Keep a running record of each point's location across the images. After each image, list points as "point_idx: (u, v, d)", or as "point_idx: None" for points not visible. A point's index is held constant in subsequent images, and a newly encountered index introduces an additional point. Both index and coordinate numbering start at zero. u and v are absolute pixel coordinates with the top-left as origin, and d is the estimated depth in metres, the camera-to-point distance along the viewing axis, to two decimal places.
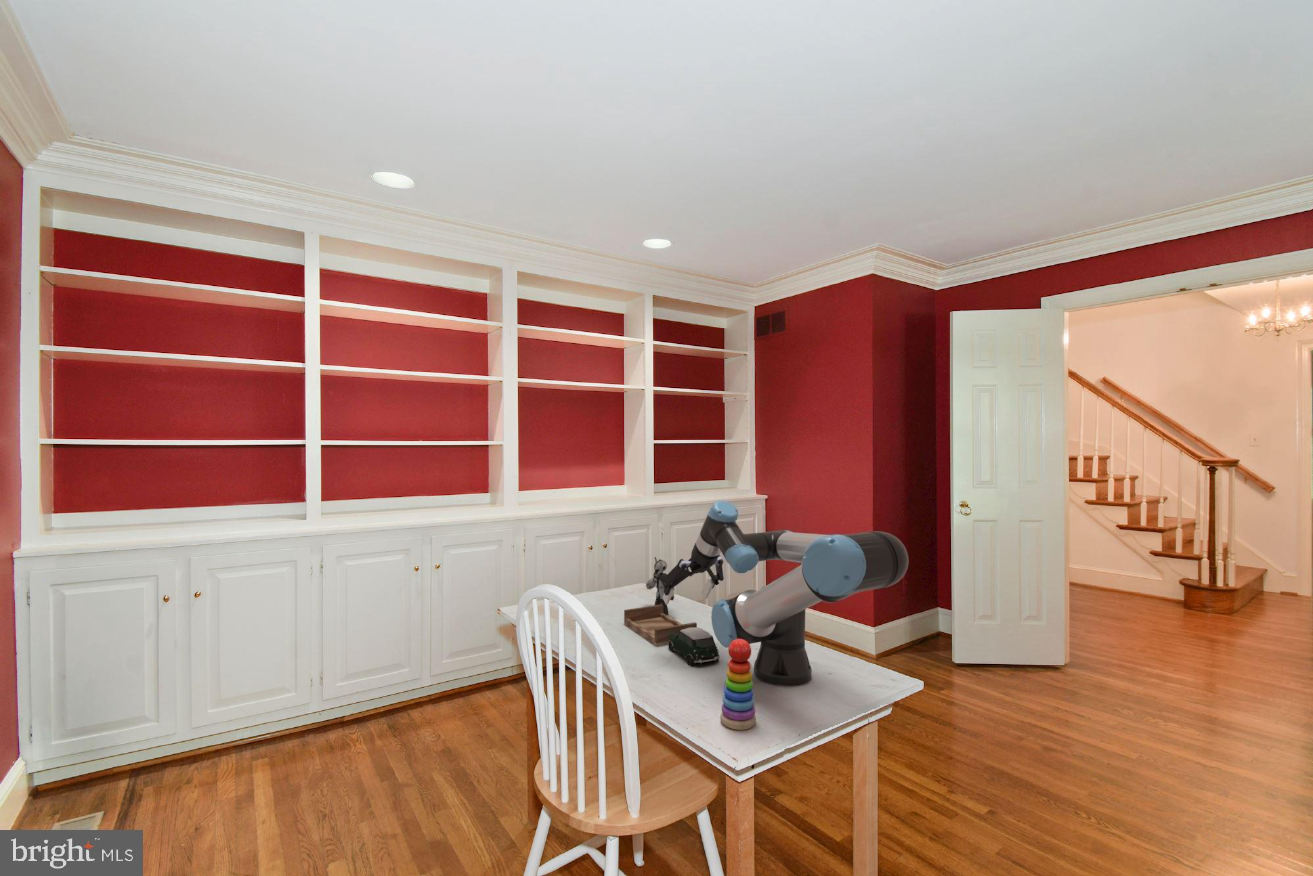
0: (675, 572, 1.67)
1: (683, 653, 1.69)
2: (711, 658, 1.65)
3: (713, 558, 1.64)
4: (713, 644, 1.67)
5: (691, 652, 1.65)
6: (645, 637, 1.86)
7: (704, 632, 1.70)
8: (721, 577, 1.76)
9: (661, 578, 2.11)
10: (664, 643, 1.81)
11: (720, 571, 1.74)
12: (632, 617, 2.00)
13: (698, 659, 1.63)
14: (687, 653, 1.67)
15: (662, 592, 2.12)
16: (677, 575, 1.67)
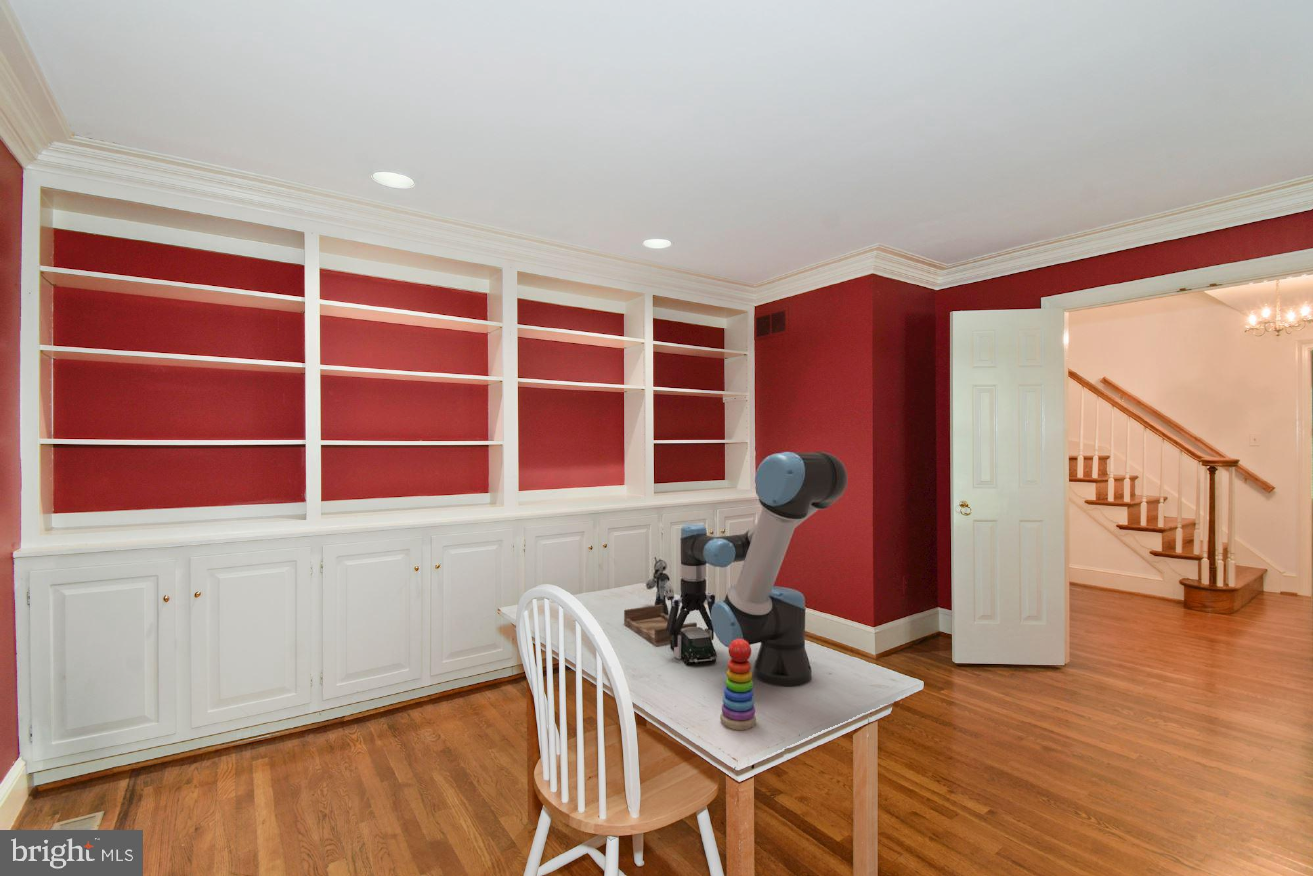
0: (672, 613, 1.69)
1: (681, 652, 1.70)
2: (707, 658, 1.65)
3: (700, 582, 1.69)
4: (710, 644, 1.66)
5: (687, 651, 1.65)
6: (645, 637, 1.86)
7: (702, 632, 1.70)
8: None
9: (661, 578, 2.11)
10: (664, 643, 1.81)
11: None
12: (632, 617, 2.00)
13: (693, 658, 1.64)
14: (684, 652, 1.67)
15: (662, 592, 2.12)
16: (675, 615, 1.68)
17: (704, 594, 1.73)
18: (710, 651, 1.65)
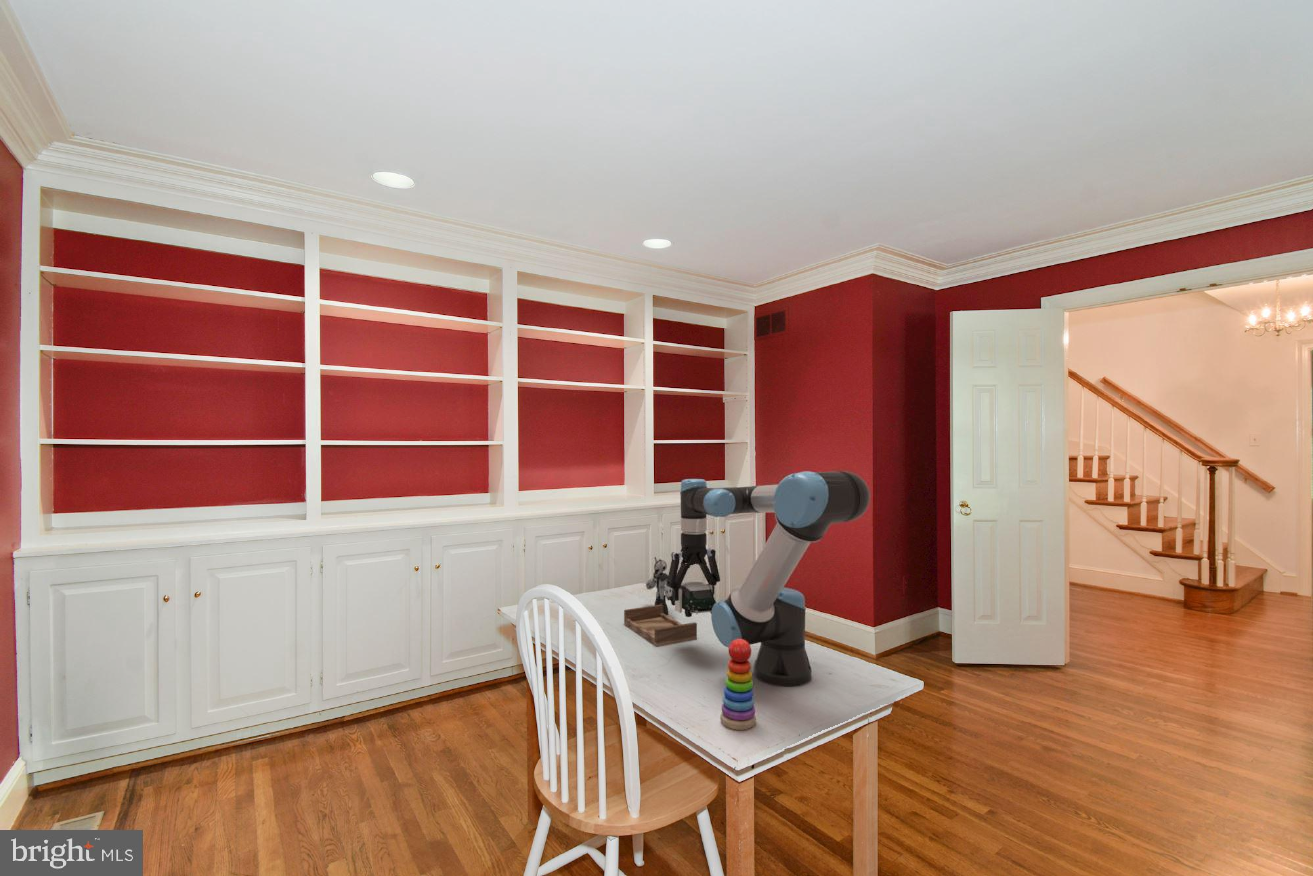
0: (673, 566, 1.68)
1: (682, 605, 1.69)
2: (708, 610, 1.64)
3: (700, 535, 1.69)
4: (711, 596, 1.66)
5: (688, 603, 1.65)
6: (645, 637, 1.86)
7: (703, 585, 1.69)
8: (717, 576, 1.74)
9: (661, 578, 2.11)
10: (664, 643, 1.81)
11: (715, 566, 1.74)
12: (632, 617, 2.00)
13: (694, 610, 1.63)
14: (685, 605, 1.67)
15: (662, 592, 2.12)
16: (675, 568, 1.68)
17: (704, 548, 1.72)
18: (711, 603, 1.65)
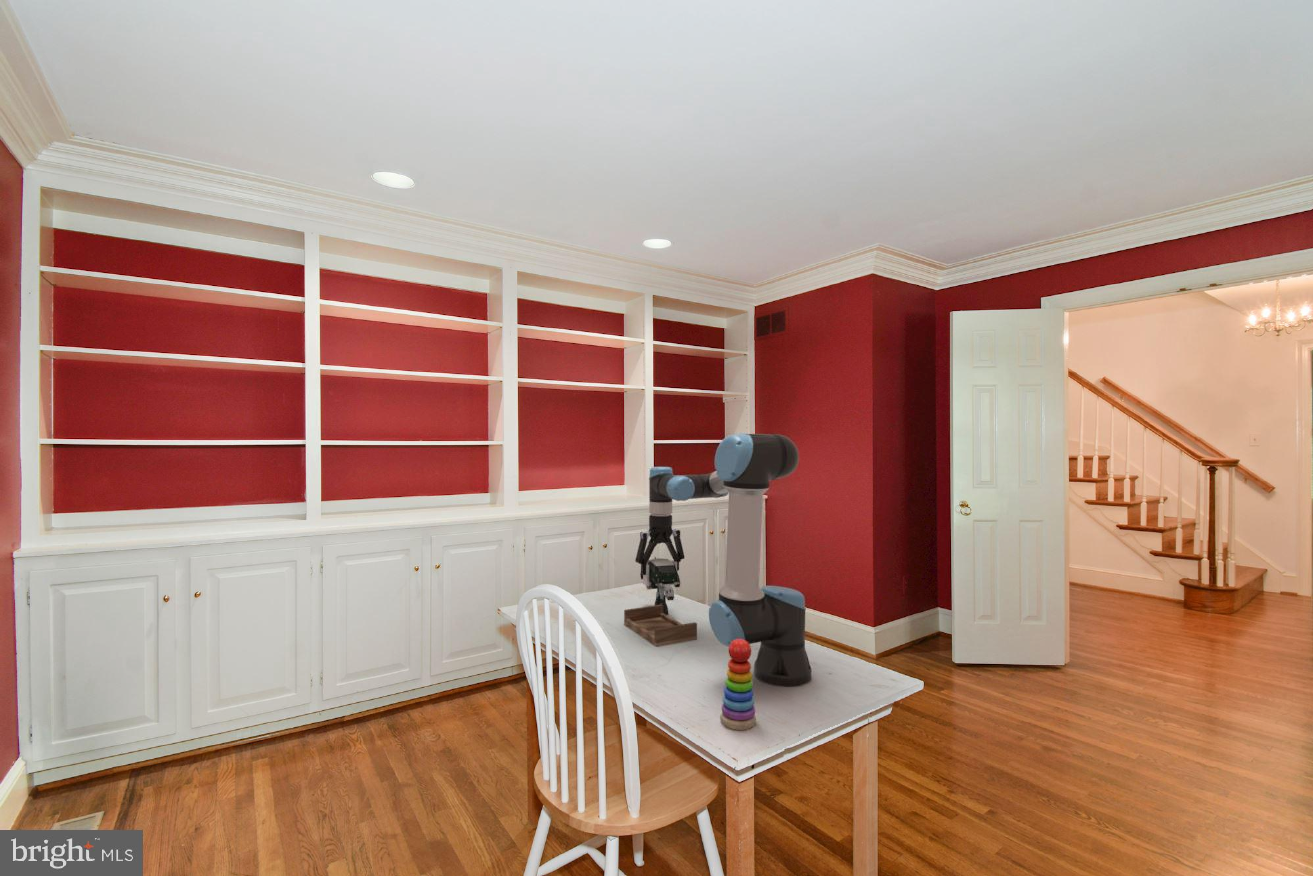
0: (641, 544, 1.89)
1: (649, 579, 1.90)
2: (671, 583, 1.85)
3: (666, 517, 1.89)
4: (674, 571, 1.87)
5: (654, 577, 1.85)
6: (645, 637, 1.86)
7: (668, 561, 1.90)
8: (682, 553, 1.95)
9: None
10: (664, 643, 1.81)
11: (679, 544, 1.94)
12: (632, 617, 2.00)
13: (659, 583, 1.84)
14: (651, 578, 1.87)
15: (662, 592, 2.12)
16: (643, 546, 1.88)
17: (670, 529, 1.93)
18: (674, 577, 1.85)
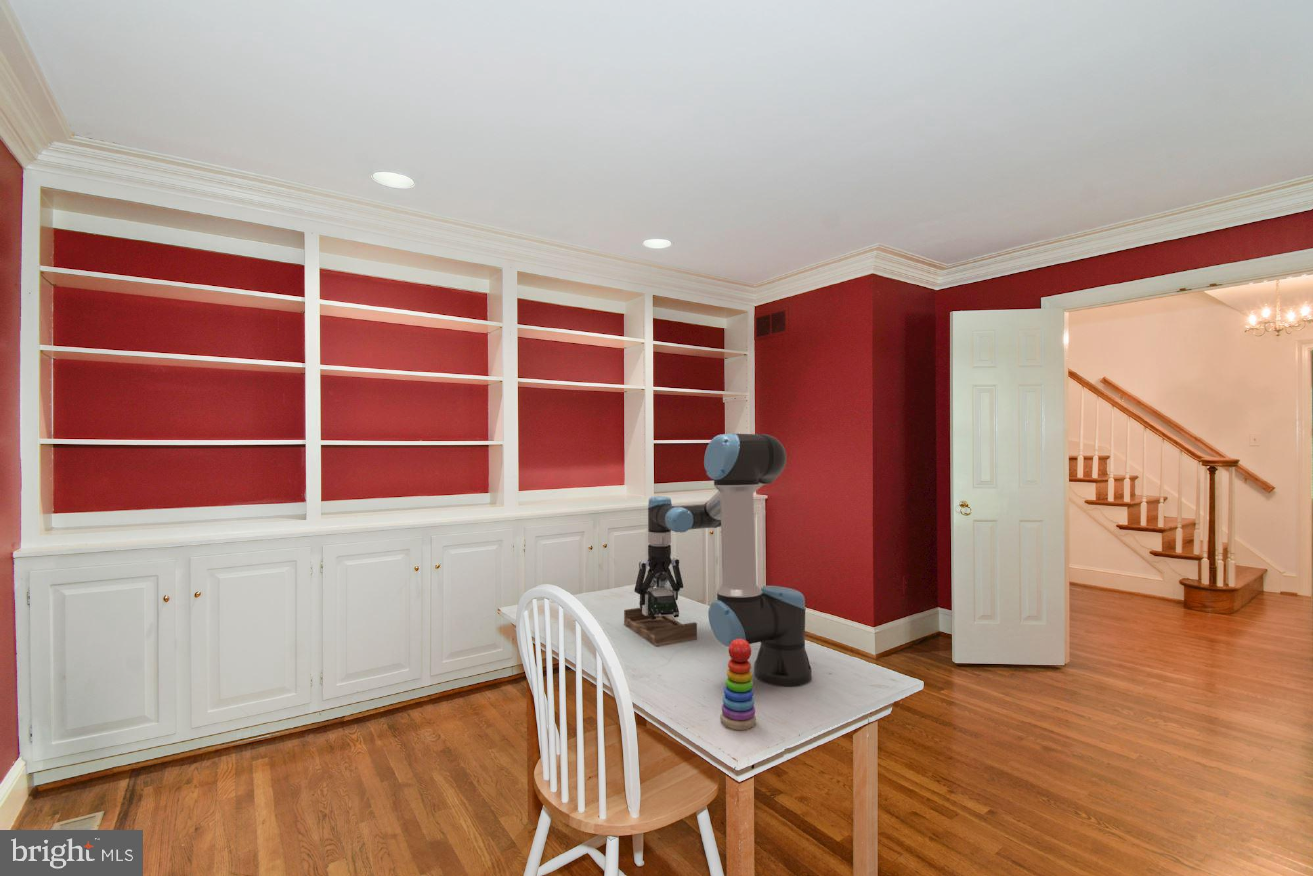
0: (640, 575, 1.89)
1: (648, 609, 1.90)
2: (670, 613, 1.85)
3: (665, 547, 1.90)
4: (673, 601, 1.87)
5: (653, 607, 1.86)
6: (645, 637, 1.86)
7: (667, 591, 1.90)
8: (680, 583, 1.95)
9: (661, 578, 2.11)
10: (664, 643, 1.81)
11: (678, 574, 1.95)
12: (632, 617, 2.00)
13: (658, 613, 1.84)
14: (650, 608, 1.88)
15: None
16: (642, 576, 1.89)
17: (669, 558, 1.93)
18: (673, 607, 1.86)
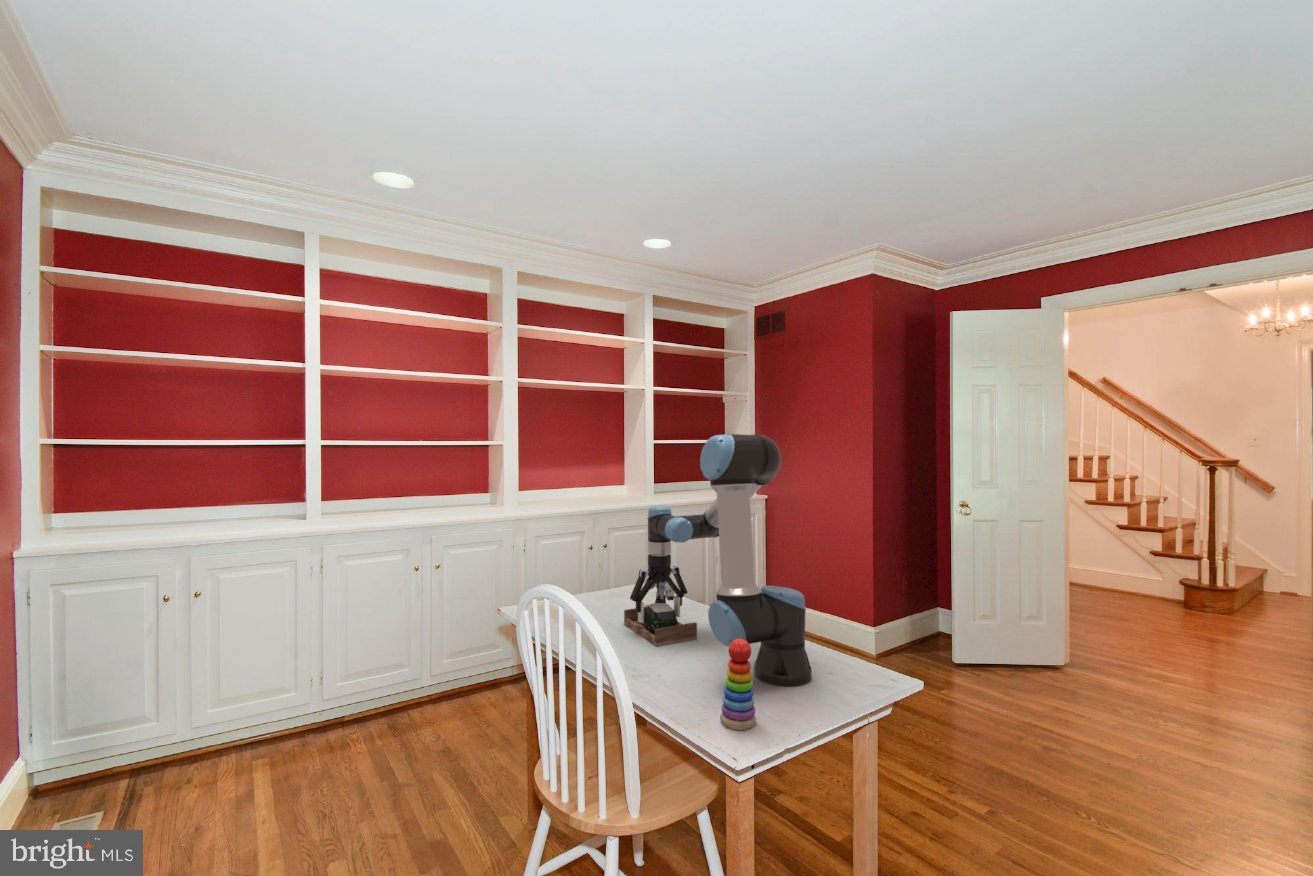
0: (638, 582, 1.89)
1: (648, 625, 1.90)
2: None
3: (665, 557, 1.90)
4: (673, 617, 1.87)
5: (653, 623, 1.86)
6: (645, 637, 1.86)
7: (667, 607, 1.90)
8: (684, 589, 1.96)
9: None
10: (664, 643, 1.81)
11: (680, 581, 1.95)
12: (632, 617, 2.00)
13: None
14: (651, 624, 1.88)
15: (662, 592, 2.12)
16: (640, 584, 1.88)
17: (669, 568, 1.93)
18: (673, 623, 1.86)
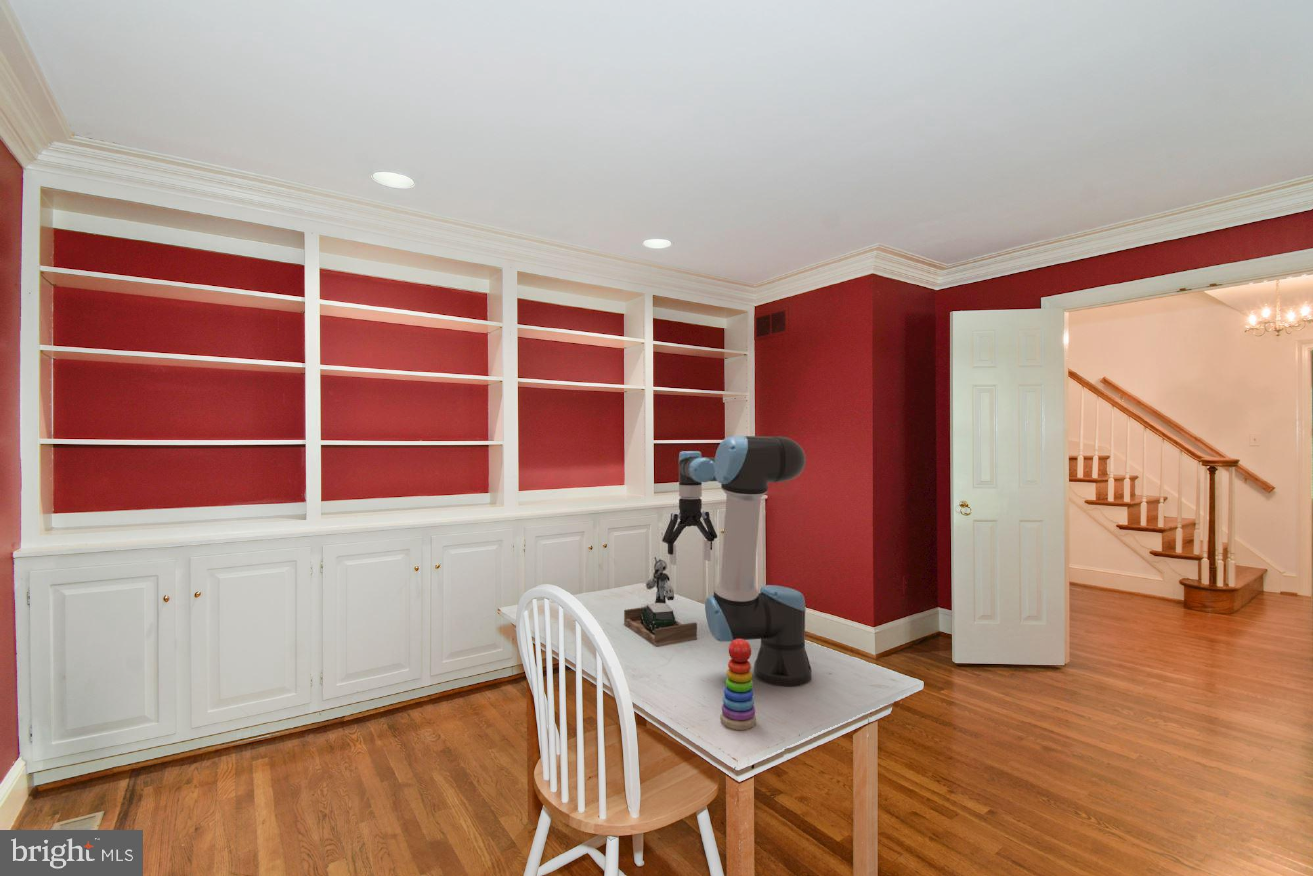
0: (670, 525, 1.91)
1: (647, 624, 1.90)
2: None
3: (696, 500, 1.92)
4: (672, 617, 1.87)
5: (651, 623, 1.86)
6: (645, 637, 1.86)
7: (666, 607, 1.90)
8: (714, 533, 1.98)
9: (661, 578, 2.11)
10: (664, 643, 1.81)
11: (710, 525, 1.97)
12: (632, 617, 2.00)
13: None
14: (649, 624, 1.88)
15: (662, 592, 2.12)
16: (673, 526, 1.90)
17: (699, 512, 1.95)
18: (671, 623, 1.85)
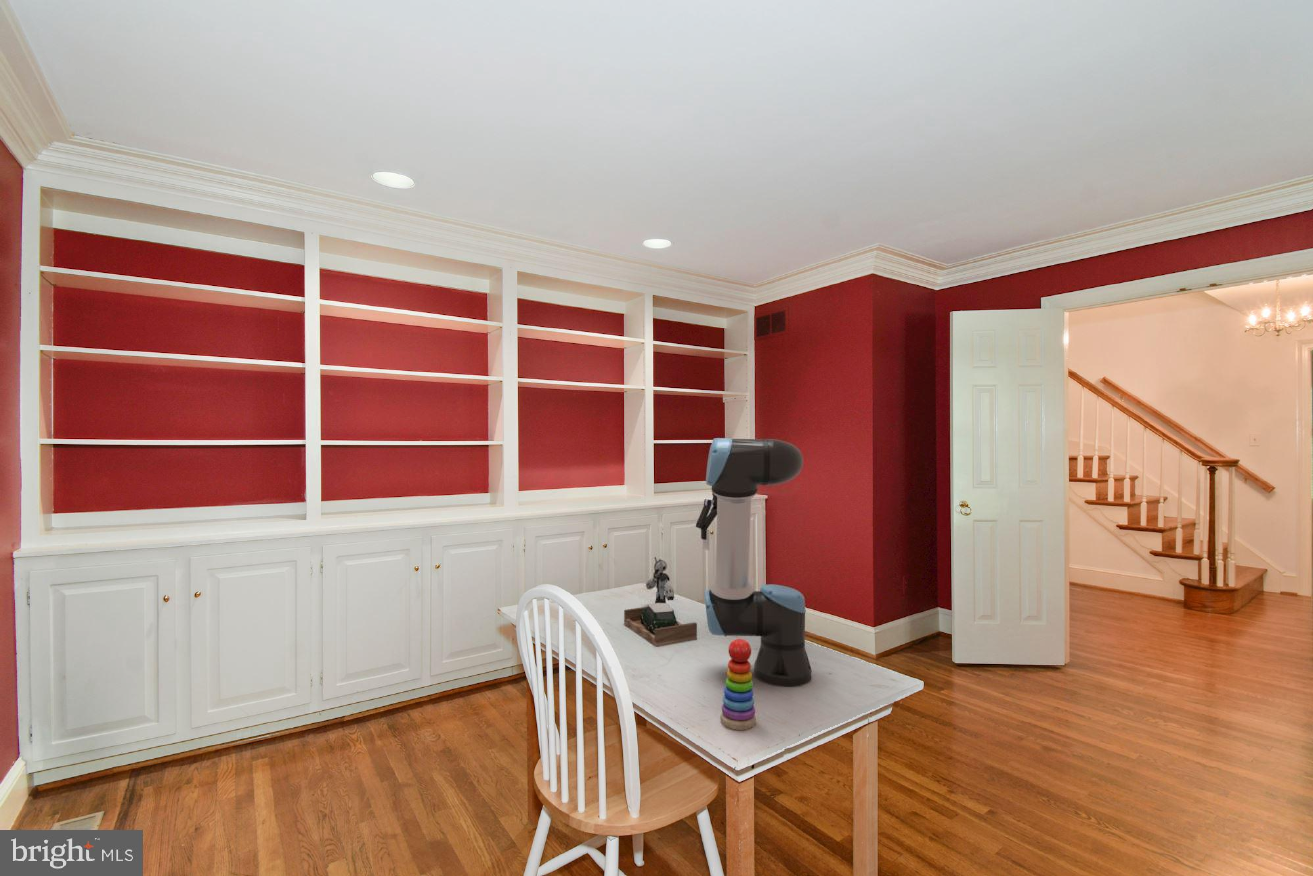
0: (704, 510, 1.93)
1: (648, 624, 1.90)
2: None
3: None
4: (673, 617, 1.87)
5: (652, 623, 1.86)
6: (645, 637, 1.86)
7: (667, 607, 1.90)
8: None
9: (661, 578, 2.11)
10: (664, 643, 1.81)
11: None
12: (632, 617, 2.00)
13: None
14: (650, 624, 1.88)
15: (662, 592, 2.12)
16: (706, 512, 1.93)
17: None
18: (672, 623, 1.86)
